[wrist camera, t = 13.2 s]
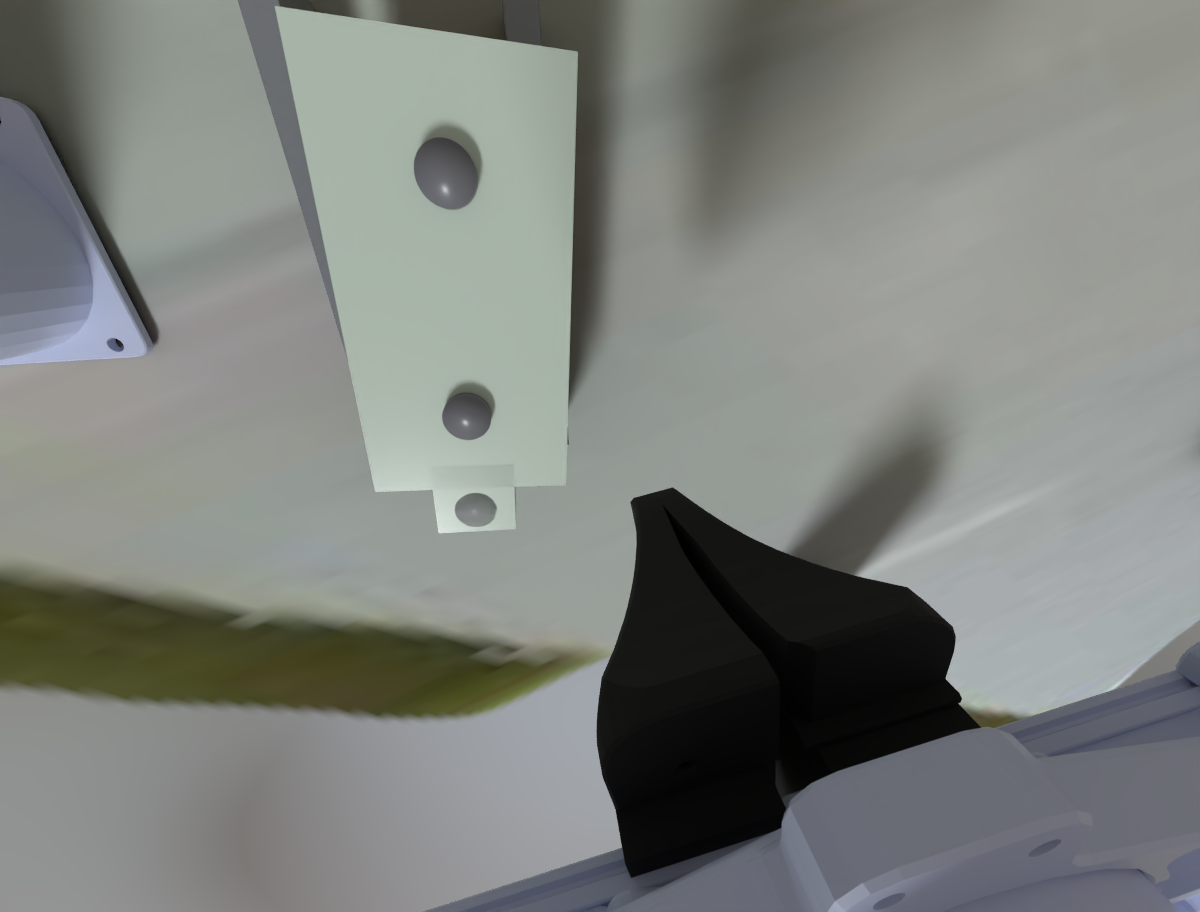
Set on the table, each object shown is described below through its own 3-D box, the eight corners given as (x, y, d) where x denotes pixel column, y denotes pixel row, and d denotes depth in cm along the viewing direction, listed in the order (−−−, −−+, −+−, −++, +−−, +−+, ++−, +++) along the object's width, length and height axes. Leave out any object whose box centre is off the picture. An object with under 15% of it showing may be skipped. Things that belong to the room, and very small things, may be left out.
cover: (414, 468, 21) (381, 542, 16) (356, 84, 14) (265, -4, 9) (554, 465, 22) (565, 532, 17) (559, 109, 16) (580, 45, 11)
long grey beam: (397, 434, 20) (379, 463, 18) (280, 5, 13) (222, -52, 11) (562, 419, 21) (568, 444, 19) (532, 16, 15) (535, -34, 12)
